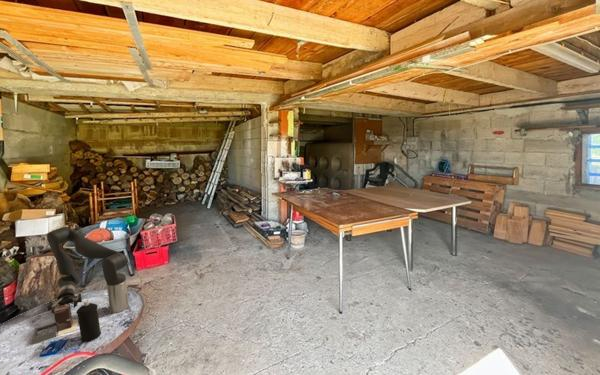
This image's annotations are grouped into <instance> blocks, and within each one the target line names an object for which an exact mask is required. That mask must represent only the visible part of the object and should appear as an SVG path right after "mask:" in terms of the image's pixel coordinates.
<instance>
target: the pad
mask: <svg viewBox="0 0 600 375" xmlns="http://www.w3.org/2000/svg"><path fill="white" fill-rule="evenodd" d="M78 325H79V321H78V318H76V319H72V327H71V328H68V329H64V330H61V331H57V337H58V336H62V335H65V334H68V333H72V332H74V331H77V330H78Z"/></svg>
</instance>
